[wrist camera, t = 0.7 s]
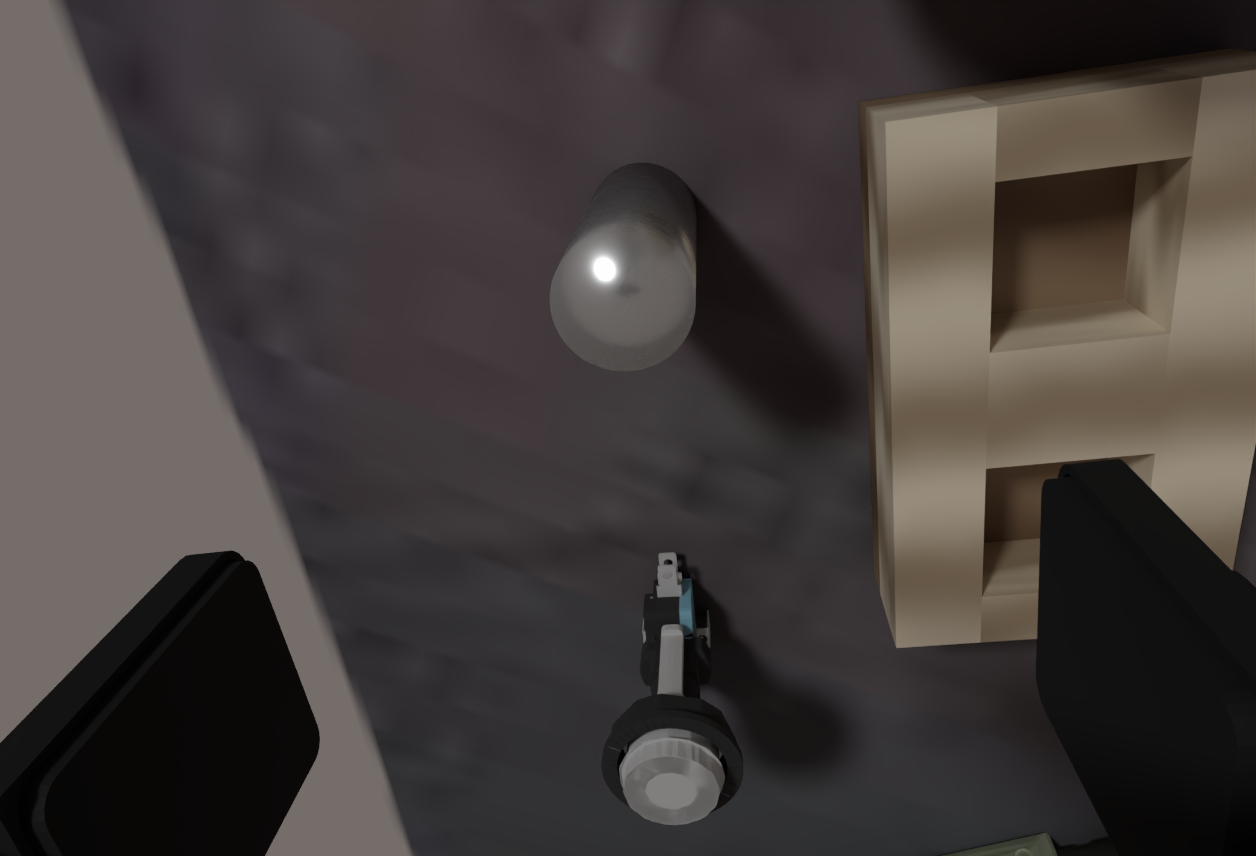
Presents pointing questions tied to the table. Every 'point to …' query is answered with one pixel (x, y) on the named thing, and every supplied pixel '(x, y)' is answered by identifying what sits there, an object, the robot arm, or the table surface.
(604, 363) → the pin
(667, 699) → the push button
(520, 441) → the table surface
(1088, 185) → the socket block
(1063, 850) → the handheld radio
